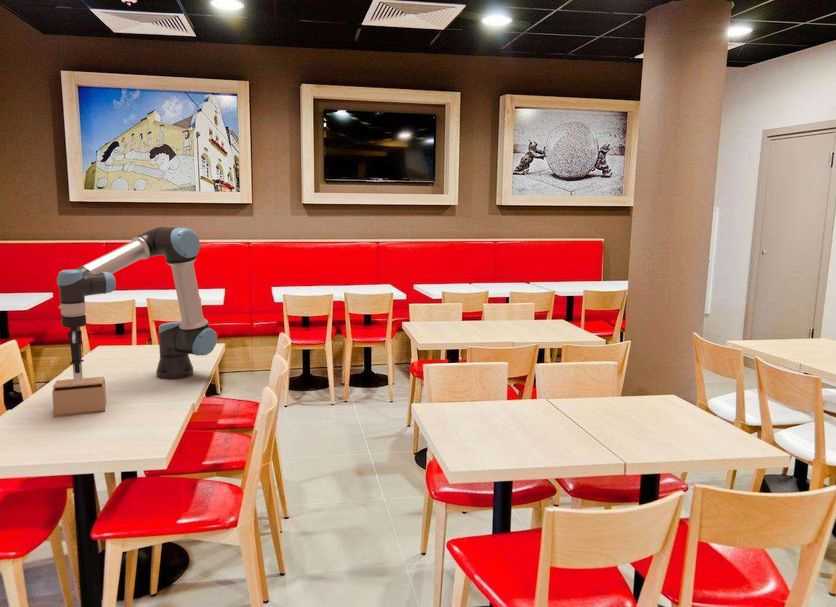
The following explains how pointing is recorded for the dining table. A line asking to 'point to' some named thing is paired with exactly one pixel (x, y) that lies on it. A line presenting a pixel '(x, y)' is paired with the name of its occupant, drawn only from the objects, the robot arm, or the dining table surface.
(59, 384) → the lid
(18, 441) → the dining table surface
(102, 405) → the carton
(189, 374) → the robot arm
